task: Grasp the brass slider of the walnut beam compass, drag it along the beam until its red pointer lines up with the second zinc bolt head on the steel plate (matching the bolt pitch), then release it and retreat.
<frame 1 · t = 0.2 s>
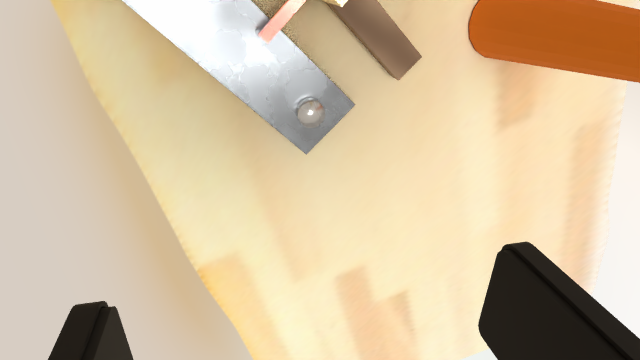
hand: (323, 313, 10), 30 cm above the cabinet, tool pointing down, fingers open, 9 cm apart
bolt plate: (245, 50, 35), on the cabinet
spray bottle: (502, 0, 38), on the cabinet
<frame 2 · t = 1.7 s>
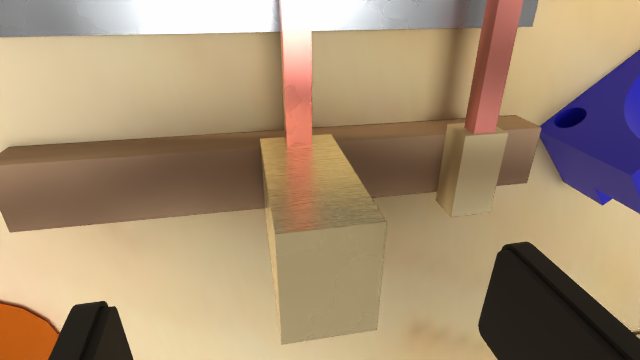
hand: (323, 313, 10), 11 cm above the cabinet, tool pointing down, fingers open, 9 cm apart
spray bottle: (30, 357, 22), on the cabinet
beam: (290, 158, 19), on the cabinet
cable clip: (637, 85, 22), on the cabinet
slider: (309, 151, 13), point 6 cm above the cabinet, slide at 2.0 cm
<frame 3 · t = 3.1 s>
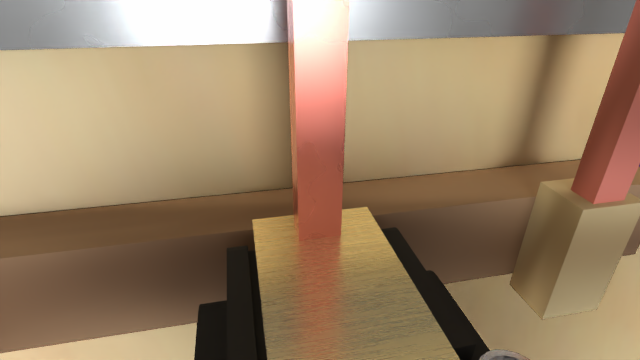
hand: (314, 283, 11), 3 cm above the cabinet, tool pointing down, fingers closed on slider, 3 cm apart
beam: (298, 227, 13), on the cabinet
slider: (350, 284, 7), point 6 cm above the cabinet, slide at 2.0 cm, touching gripper
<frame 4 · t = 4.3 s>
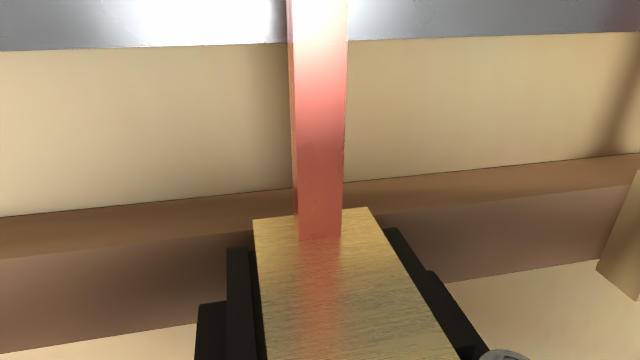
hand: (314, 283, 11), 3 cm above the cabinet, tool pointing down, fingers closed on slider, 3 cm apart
beam: (397, 215, 14), on the cabinet
slider: (350, 284, 7), point 6 cm above the cabinet, slide at 5.5 cm, touching gripper
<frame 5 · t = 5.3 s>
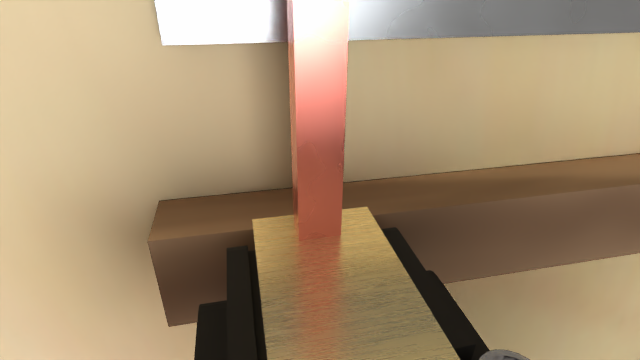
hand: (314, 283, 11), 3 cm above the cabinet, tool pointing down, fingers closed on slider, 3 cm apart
beam: (509, 202, 14), on the cabinet
slider: (350, 284, 7), point 6 cm above the cabinet, slide at 9.9 cm, touching gripper
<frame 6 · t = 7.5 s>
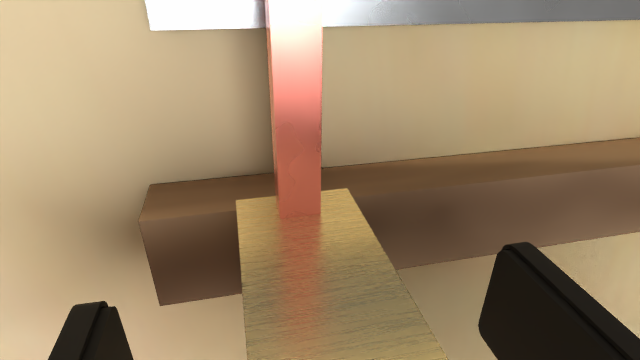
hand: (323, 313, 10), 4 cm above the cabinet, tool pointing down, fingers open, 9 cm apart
beam: (491, 187, 15), on the cabinet
slider: (323, 253, 7), point 6 cm above the cabinet, slide at 10.0 cm
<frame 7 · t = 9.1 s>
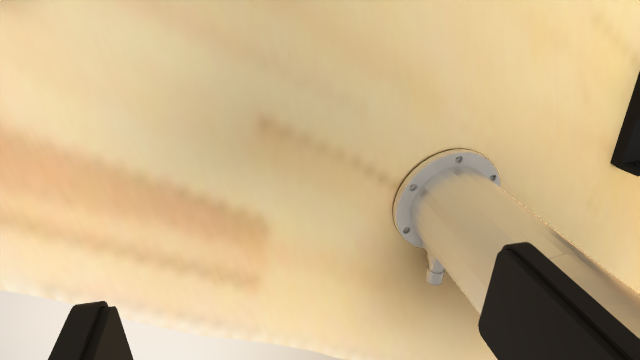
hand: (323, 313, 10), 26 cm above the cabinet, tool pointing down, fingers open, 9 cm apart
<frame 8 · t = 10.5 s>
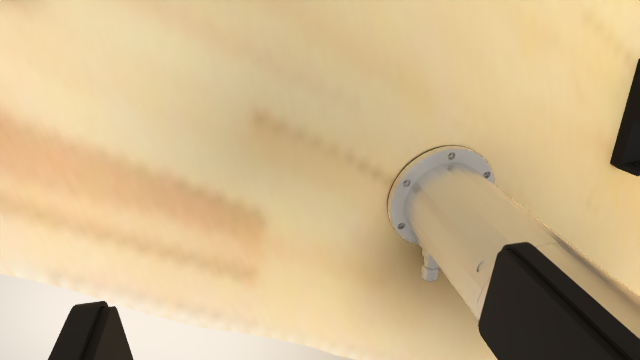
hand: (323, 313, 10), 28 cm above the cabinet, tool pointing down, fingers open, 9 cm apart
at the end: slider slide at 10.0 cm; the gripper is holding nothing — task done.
